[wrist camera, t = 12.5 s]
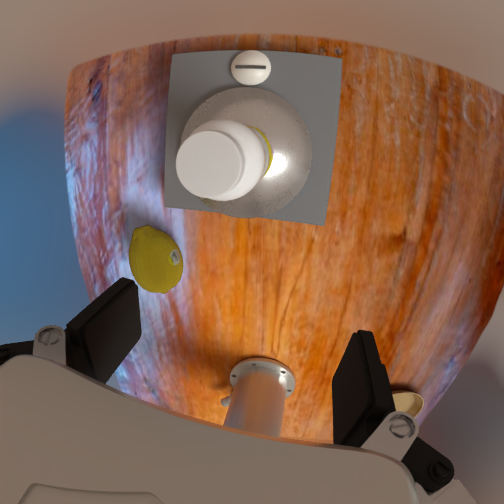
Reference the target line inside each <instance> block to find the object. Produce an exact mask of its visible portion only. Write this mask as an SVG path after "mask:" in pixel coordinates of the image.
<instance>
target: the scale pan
mask: <svg viewBox="0 0 504 504" xmlns="http://www.w3.org/2000/svg"><path fill="white" fill-rule="evenodd" d="M216 119H230V120H234V121H238V122H241V123H245V124H249V125H253V126H255V127H257V128H259V129H261V130H262V131H263V132H264V133H265V134H266V135H267V136H268V137H269V139H270V141H271V143H272V146H273V151H274V157H273V162H272V165H271V167H270V169H269V171H268V172H267V174H266V175H265V176H264V177H263V178H262V179H261V180H260V181H259V182H258V183H257V184H256V185H255V186H254V187H253V188H252V189H251V190H250V191H249V192H248V193H246V194H245V195H243V196H241V197H239V198H237V199H233V200H228V201H217V200H212V199H209V198H203V197H199V196H197V197H198V198H199V199H200V200H201V201H202V202H204V203H205V204H206V205H207V206H209V207H210V208H212V209H214V210H215V211H218V212H220V213H222V214H225V215H228V216H232V217H237V218H256V217H261V216H265V215H268V214H271V213H273V212H275V211H277V210H279V209H281V208H282V207H284V206H285V205H287V204H288V203H289V202H290V201H292V200H293V199H294V198H295V196H296V195H297V194H298V193H299V192H300V190H301V189H302V187H303V186H304V184H305V182H306V180H307V178H308V175H309V172H310V169H311V164H312V152H313V151H312V141H311V137H310V133H309V131H308V128H307V126H306V124H305V122H304V120H303V118H302V117H301V115H300V114H299V113H298V111H297V110H296V109H295V108H294V107H293V106H292V105H291V104H290V103H289V102H287V101H286V100H285V99H283V98H282V97H280V96H278V95H276V94H275V93H272V92H269V91H267V90H263V89H259V88H252V87H239V88H233V89H228V90H225V91H222V92H220V93H217V94H215V95H213V96H212V97H210V98H209V99H207V100H206V101H205V102H203V103H202V104H201V105H200V106H199V107H198V108H197V109H196V110H195V111H194V113H193V114H192V115H191V117H190V118H189V120H188V122H187V124H186V126H185V128H184V131H183V134H182V138H181V143H180V146H181V145H182V143H183V142H184V141H185V140H186V139H187V138H188V137H189V136H190V135H191V133H192V132H193V131H194V130H195V129H197V128H198V127H199V126H201V125H202V124H204V123H206V122H209V121H212V120H216Z"/></svg>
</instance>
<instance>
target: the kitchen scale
mask: <svg viewBox="0 0 504 504" xmlns="http://www.w3.org/2000/svg"><path fill="white" fill-rule="evenodd" d="M341 74H342V59H341V58H335V57H328V56H321V55H314V54H305V53H295V52H282V51H262V50H223V51H203V52H190V53H180V54H172V62H171V71H170V81H169V92H168V105H167V120H166V140H165V179H164V203H165V207H169V208H180V209H190V210H199V211H209V212H218V211H215V210H214V209H212V208H210V207H209V206H207V205H206V204H205V203H204V202H202V201H201V200H200V199H199V198H198V197H197V196H196V195H194V194H192V193H191V192H189V191H188V190H187V189H186V188H185V187H184V186H183V185H182V183H181V182H180V180H179V178H178V175H177V171H176V157H177V153H178V150H179V148H180V143H181V138H182V134H183V131H184V128H185V126H186V124H187V122H188V120H189V118H190V117H191V115H192V114H193V113H194V111H195V110H196V109H197V108H198V107H199V106H200V105H201V104H202V103H203V102H205V101H206V100H207V99H209V98H210V97H212V96H213V95H215V94H217V93H220V92H222V91H225V90H228V89H233V88H239V87H252V88H259V89H263V90H267V91H269V92H272V93H275V94H276V95H278V96H280V97H282V98H283V99H285V100H286V101H287V102H289V103H290V104H291V105H292V106H293V107H294V108H295V109H296V110H297V111H298V113H299V114H300V115H301V117H302V118H303V120H304V122H305V124H306V126H307V128H308V131H309V133H310V137H311V141H312V151H313V152H312V164H311V169H310V172H309V175H308V178H307V180H306V182H305V184H304V186H303V187H302V189H301V190H300V192H299V193H298V194H297V195H296V196H295V198H294V199H293V200H292V201H290V202H289V203H288V204H287V205H285V206H284V207H282V208H281V209H279V210H277V211H275V212H273V213H271V214H268V215H265V216H261V217H260V218H268V219H276V220H284V221H291V222H299V223H306V224H313V225H320V226H324V225H325V219H326V212H327V206H328V199H329V192H330V185H331V178H332V170H333V162H334V154H335V145H336V136H337V126H338V115H339V103H340V90H341ZM218 213H220V212H218Z"/></svg>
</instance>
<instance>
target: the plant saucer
mask: <svg viewBox="0 0 504 504" xmlns="http://www.w3.org/2000/svg"><path fill="white" fill-rule="evenodd" d="M392 395H393V399H394V403H395V408H396V411H402V412H406V413H408V414H410V415H411V416H412V417H416V416H417V415H418V414H419V412H420V411H421V410H422V408H423V404H424V400H423V398H422V397H421V396H420V395H419V394H416V393H414V392H410V391H404V390H398V391H392Z"/></svg>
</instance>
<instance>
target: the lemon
mask: <svg viewBox="0 0 504 504" xmlns="http://www.w3.org/2000/svg"><path fill="white" fill-rule="evenodd" d="M129 263H130V268H131V271H132V274H133V276H134V278H135V280H136V281H137V283H138V284H139V285H140V286H141V287H142V288H143V289H145V290H147V291H149V292H155V293H159V292H160V293H162V294H165V293H166V292H167V291H168V290H169V289H171V288H173V287H174V286H175V285H177V283H178V282H179V281H180V279H181V276H182V273H183V258H182V254H181V251H180V249H179V247H178V245H177V244H176V242H175V241H174V240H173V239H172V238H171V237H170V236H169V235H167V234H166V233H164V232H162V231H160V230H157V229H155V228H153V227H152V226H150V225H145V226H143V227H139V228H135V230H134V231H133V235H132V240H131V243H130V248H129Z"/></svg>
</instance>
